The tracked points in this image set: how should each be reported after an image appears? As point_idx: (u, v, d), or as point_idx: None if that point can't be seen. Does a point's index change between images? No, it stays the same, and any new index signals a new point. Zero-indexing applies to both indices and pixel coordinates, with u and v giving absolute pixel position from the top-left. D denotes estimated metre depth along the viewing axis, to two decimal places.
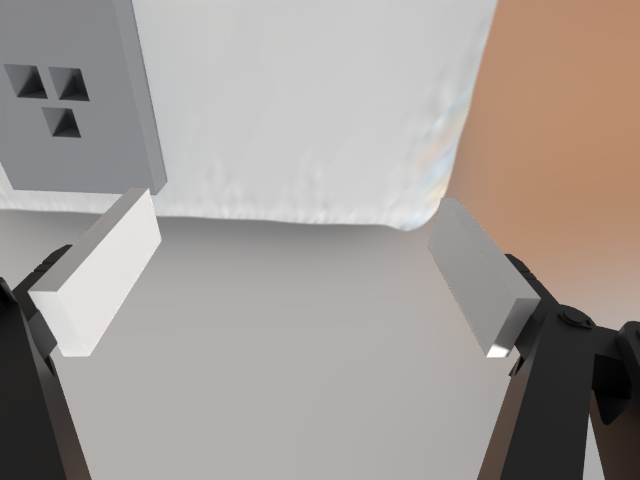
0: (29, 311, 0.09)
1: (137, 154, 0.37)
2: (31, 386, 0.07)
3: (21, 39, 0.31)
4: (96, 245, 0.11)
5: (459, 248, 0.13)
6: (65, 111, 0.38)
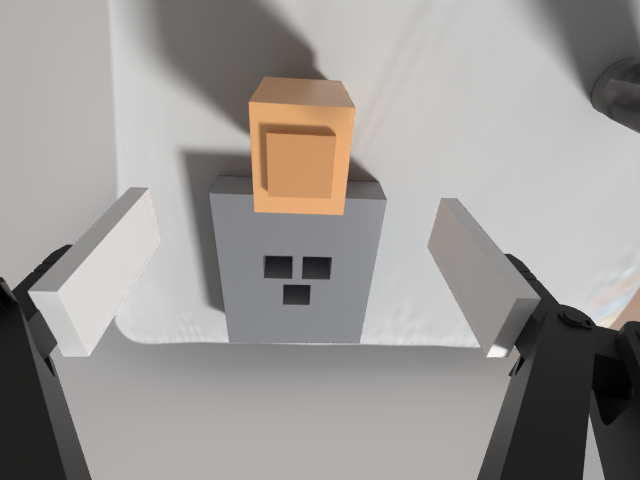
0: (29, 311, 0.09)
1: (356, 315, 0.39)
2: (31, 386, 0.07)
3: (288, 238, 0.33)
4: (96, 245, 0.11)
5: (459, 248, 0.13)
6: None
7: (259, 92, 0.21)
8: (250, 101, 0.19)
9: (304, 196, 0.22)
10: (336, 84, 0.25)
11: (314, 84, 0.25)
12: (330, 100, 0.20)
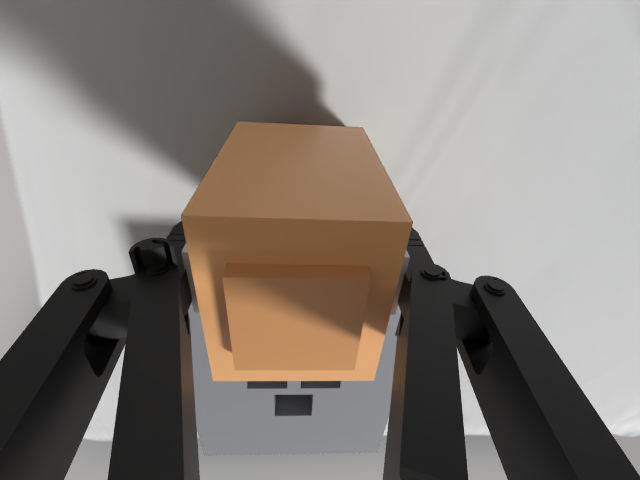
0: (178, 270, 0.11)
1: (374, 424, 0.29)
2: (173, 341, 0.08)
3: None
4: None
5: None
6: None
7: (216, 173, 0.11)
8: (186, 212, 0.09)
9: (304, 368, 0.11)
10: (357, 137, 0.15)
11: (320, 139, 0.14)
12: (355, 194, 0.10)
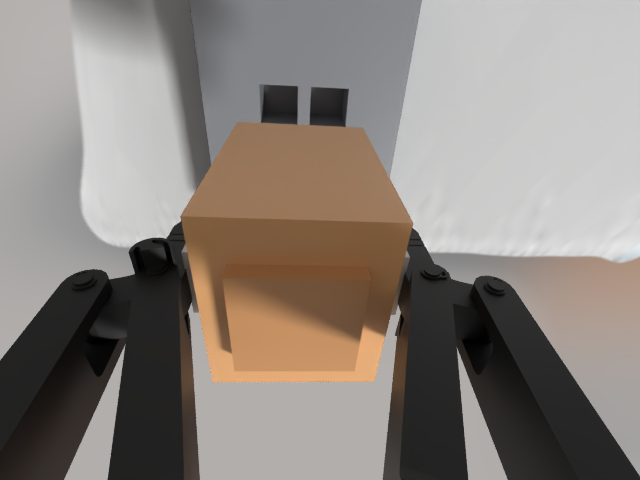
0: (178, 270, 0.11)
1: None
2: (173, 341, 0.08)
3: (292, 54, 0.25)
4: None
5: None
6: None
7: (216, 173, 0.11)
8: (185, 213, 0.09)
9: (304, 369, 0.11)
10: (357, 138, 0.15)
11: (320, 140, 0.14)
12: (356, 194, 0.10)
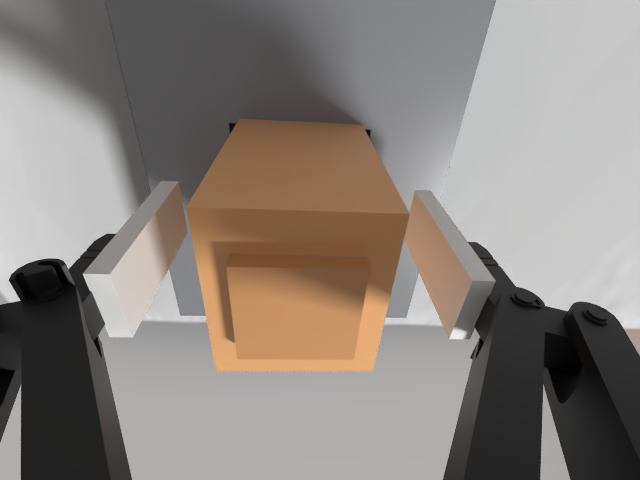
0: (82, 293, 0.10)
1: (406, 262, 0.22)
2: (81, 366, 0.07)
3: (281, 77, 0.15)
4: (138, 233, 0.12)
5: (429, 236, 0.14)
6: None
7: (219, 167, 0.11)
8: (191, 204, 0.09)
9: (305, 357, 0.12)
10: (356, 134, 0.15)
11: (320, 136, 0.15)
12: (355, 187, 0.10)
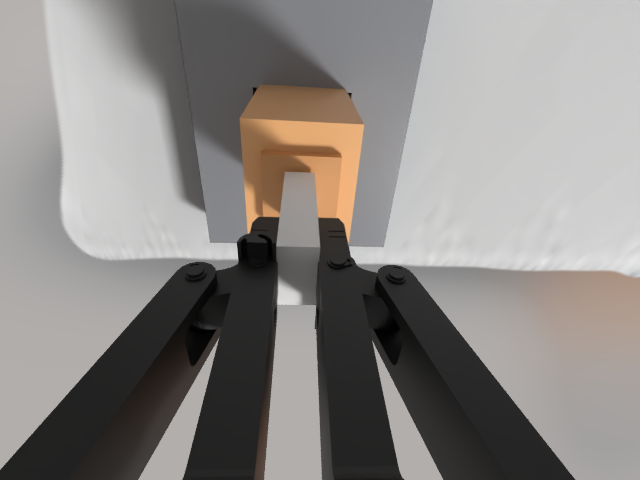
0: None
1: (381, 199, 0.29)
2: (262, 335, 0.08)
3: (289, 54, 0.23)
4: (297, 215, 0.13)
5: None
6: None
7: (253, 105, 0.18)
8: (241, 117, 0.16)
9: None
10: (340, 93, 0.22)
11: (316, 93, 0.22)
12: (334, 114, 0.18)
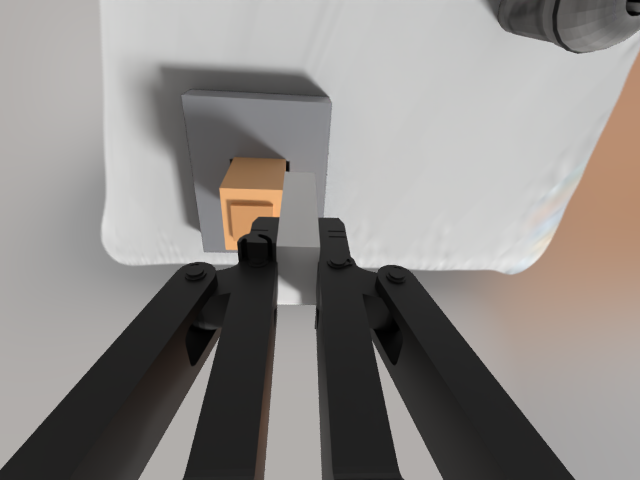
0: None
1: None
2: (262, 335, 0.08)
3: (250, 141, 0.39)
4: (298, 215, 0.13)
5: None
6: None
7: (227, 177, 0.34)
8: (220, 187, 0.32)
9: None
10: (281, 163, 0.38)
11: (265, 165, 0.38)
12: (270, 183, 0.34)
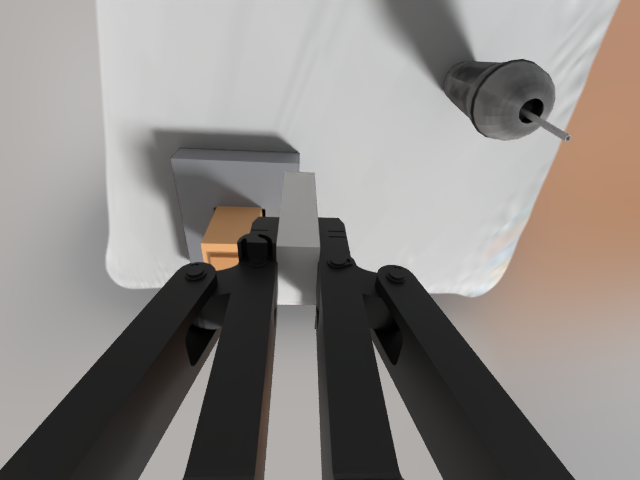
0: None
1: None
2: (262, 335, 0.08)
3: (231, 193, 0.45)
4: (298, 215, 0.13)
5: None
6: None
7: (209, 230, 0.41)
8: (201, 242, 0.39)
9: None
10: (256, 213, 0.45)
11: (243, 215, 0.44)
12: None
